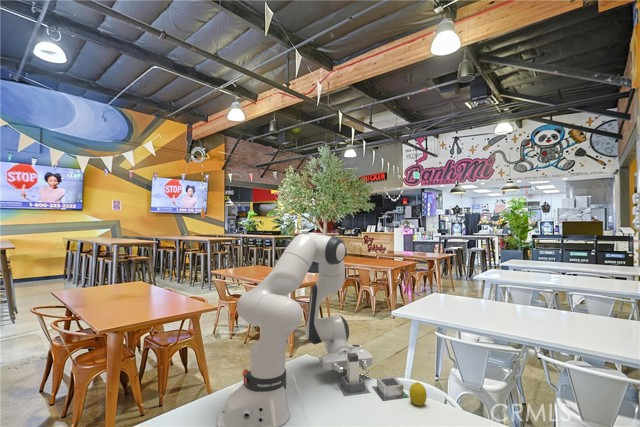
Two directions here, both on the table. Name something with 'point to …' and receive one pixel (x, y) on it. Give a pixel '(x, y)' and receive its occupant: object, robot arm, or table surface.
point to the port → (390, 389)
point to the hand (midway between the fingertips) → (353, 369)
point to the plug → (352, 368)
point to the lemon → (417, 394)
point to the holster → (352, 387)
